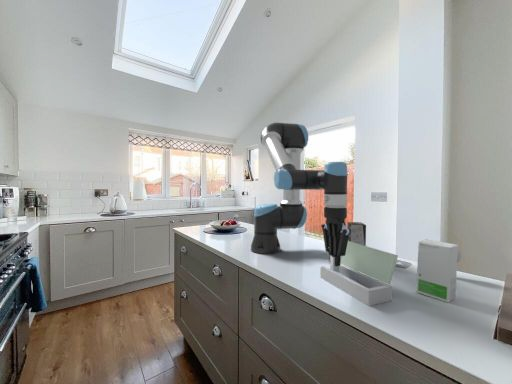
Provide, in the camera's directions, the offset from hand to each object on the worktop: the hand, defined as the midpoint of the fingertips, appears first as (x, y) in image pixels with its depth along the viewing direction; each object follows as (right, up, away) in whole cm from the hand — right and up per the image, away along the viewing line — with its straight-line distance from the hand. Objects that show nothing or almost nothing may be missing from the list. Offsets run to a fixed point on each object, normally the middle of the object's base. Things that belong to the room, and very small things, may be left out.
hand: (334, 274), depth 81 cm
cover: (+8, +7, -5) cm, 12 cm away
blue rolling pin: (+2, -1, -5) cm, 6 cm away
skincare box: (+26, -2, -12) cm, 29 cm away
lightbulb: (+42, -2, +2) cm, 42 cm away
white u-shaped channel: (+3, -2, -7) cm, 8 cm away
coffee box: (+17, -2, +23) cm, 29 cm away
